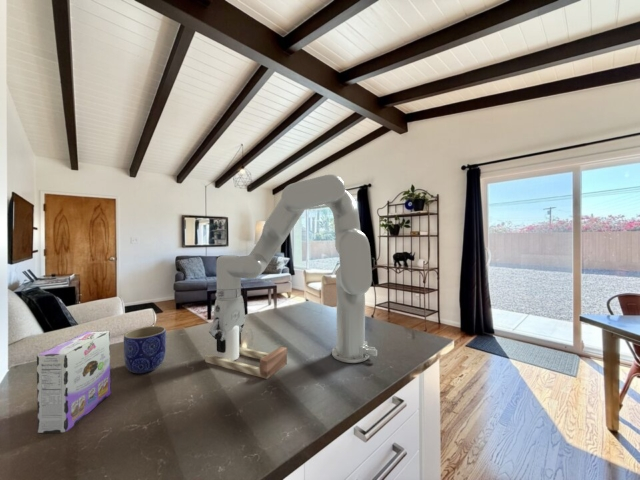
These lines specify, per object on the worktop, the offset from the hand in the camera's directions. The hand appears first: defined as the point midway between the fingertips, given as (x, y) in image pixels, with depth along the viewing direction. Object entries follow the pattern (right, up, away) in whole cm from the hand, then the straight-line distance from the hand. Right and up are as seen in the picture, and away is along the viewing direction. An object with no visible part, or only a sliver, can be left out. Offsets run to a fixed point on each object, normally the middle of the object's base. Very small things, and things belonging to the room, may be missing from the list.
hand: (229, 347), depth 91 cm
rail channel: (+6, -4, -3) cm, 8 cm away
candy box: (-25, -4, -28) cm, 38 cm away
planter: (-23, -4, -7) cm, 24 cm away
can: (0, -4, 0) cm, 4 cm away
